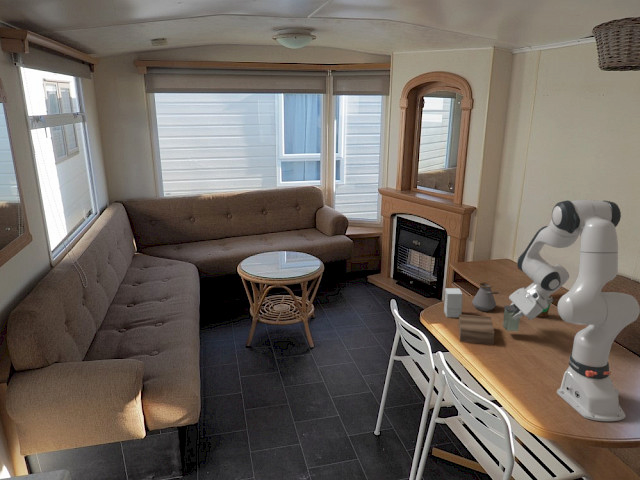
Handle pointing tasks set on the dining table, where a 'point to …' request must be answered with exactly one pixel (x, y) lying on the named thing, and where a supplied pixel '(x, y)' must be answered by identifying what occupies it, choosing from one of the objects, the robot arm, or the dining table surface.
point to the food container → (545, 311)
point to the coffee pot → (484, 297)
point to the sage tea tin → (508, 320)
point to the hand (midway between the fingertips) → (510, 315)
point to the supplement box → (453, 302)
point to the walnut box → (476, 329)
